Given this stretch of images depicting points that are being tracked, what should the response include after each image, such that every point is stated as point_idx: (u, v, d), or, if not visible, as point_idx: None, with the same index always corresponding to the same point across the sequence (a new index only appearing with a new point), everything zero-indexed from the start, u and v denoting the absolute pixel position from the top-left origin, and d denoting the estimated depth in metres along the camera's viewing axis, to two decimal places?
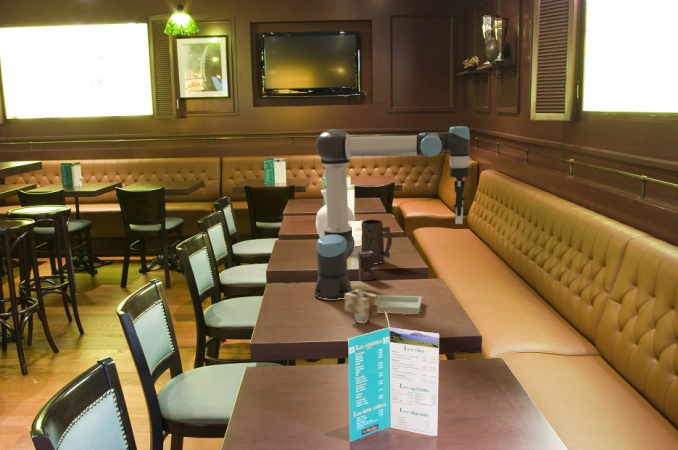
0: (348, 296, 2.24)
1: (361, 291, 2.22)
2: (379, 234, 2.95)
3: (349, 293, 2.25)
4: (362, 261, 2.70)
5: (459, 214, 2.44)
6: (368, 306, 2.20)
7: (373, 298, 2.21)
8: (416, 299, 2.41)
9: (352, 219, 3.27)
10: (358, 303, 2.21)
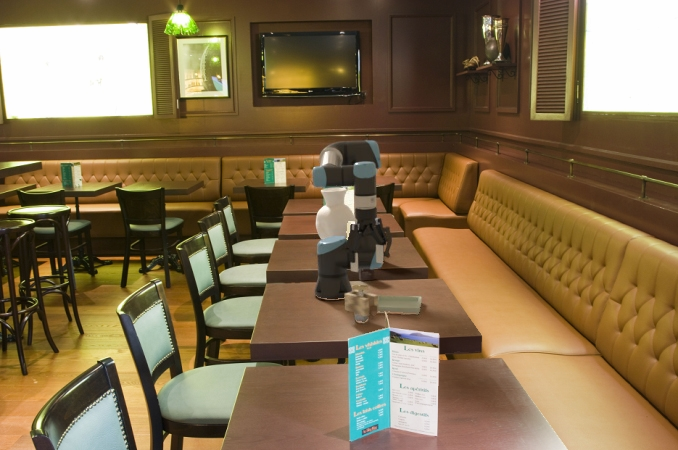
0: (348, 296, 2.24)
1: (361, 291, 2.22)
2: None
3: (349, 293, 2.25)
4: None
5: (351, 261, 2.17)
6: (368, 306, 2.20)
7: (373, 298, 2.21)
8: (416, 299, 2.41)
9: (352, 219, 3.27)
10: (358, 303, 2.21)
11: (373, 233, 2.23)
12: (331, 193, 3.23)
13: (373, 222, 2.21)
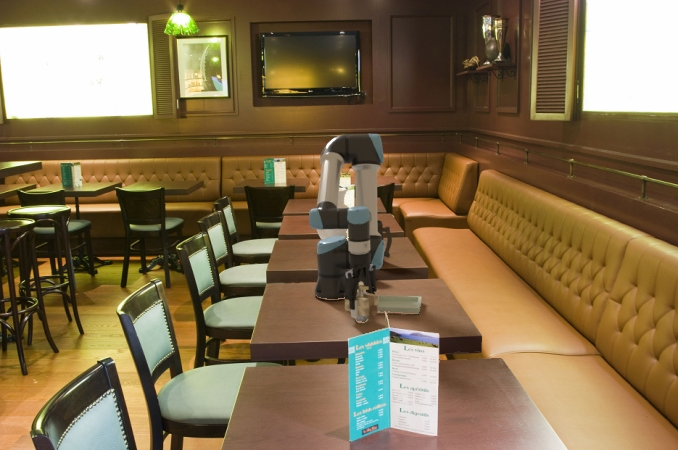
0: None
1: (361, 291, 2.22)
2: None
3: None
4: None
5: (351, 308, 2.21)
6: (368, 306, 2.20)
7: (373, 298, 2.21)
8: (416, 299, 2.41)
9: None
10: (358, 303, 2.21)
11: (365, 279, 2.24)
12: None
13: (367, 266, 2.22)
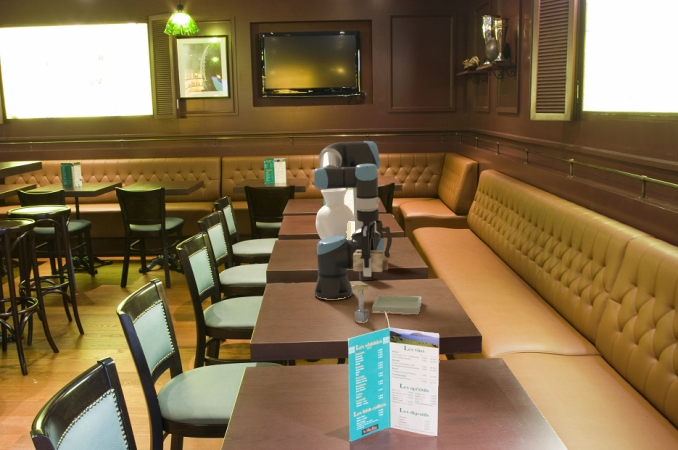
0: (358, 256, 2.22)
1: (361, 291, 2.22)
2: None
3: (356, 253, 2.23)
4: None
5: (366, 266, 2.20)
6: (382, 261, 2.22)
7: (383, 253, 2.24)
8: (416, 299, 2.41)
9: (352, 219, 3.27)
10: (372, 260, 2.21)
11: (370, 236, 2.25)
12: (331, 193, 3.23)
13: (372, 223, 2.24)
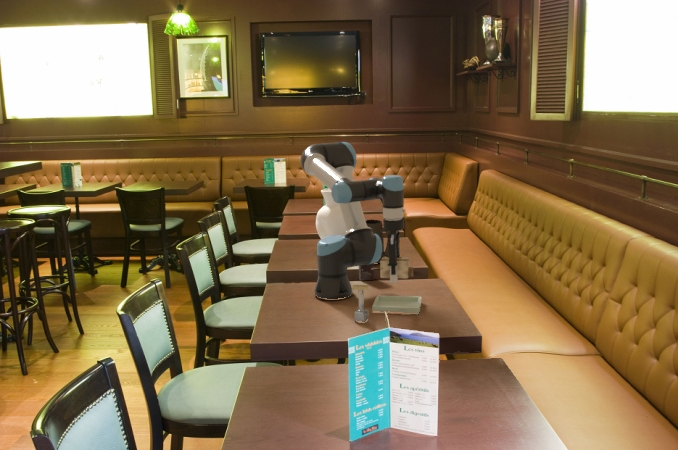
0: (385, 263, 2.32)
1: (361, 291, 2.22)
2: (379, 234, 2.95)
3: (383, 261, 2.33)
4: None
5: (393, 273, 2.30)
6: (408, 268, 2.32)
7: (408, 260, 2.34)
8: (416, 299, 2.41)
9: None
10: (398, 267, 2.31)
11: None
12: (331, 193, 3.23)
13: (397, 232, 2.34)
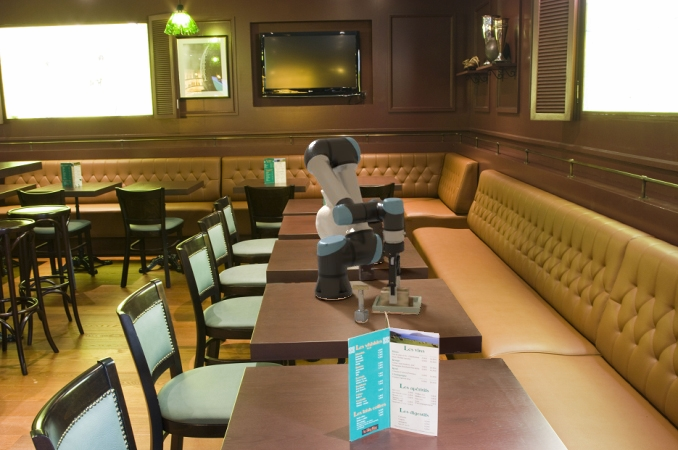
0: (385, 294, 2.34)
1: (361, 291, 2.22)
2: (379, 234, 2.95)
3: (383, 291, 2.36)
4: None
5: (393, 294, 2.29)
6: (408, 299, 2.35)
7: (408, 291, 2.37)
8: (416, 299, 2.41)
9: None
10: (399, 298, 2.34)
11: None
12: None
13: None
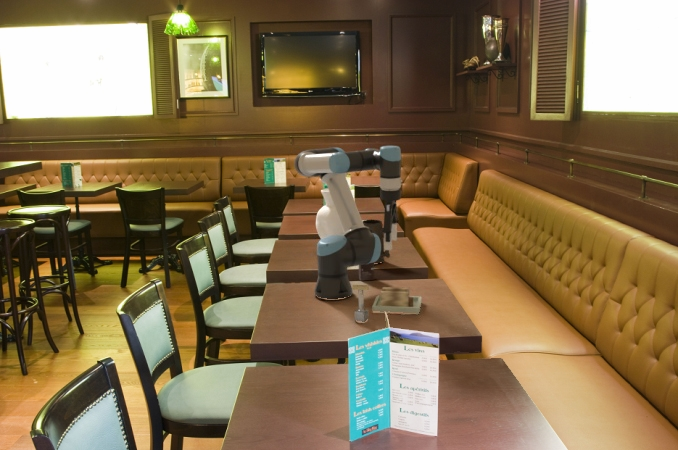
0: (385, 294, 2.34)
1: (361, 291, 2.22)
2: (379, 234, 2.95)
3: (383, 291, 2.36)
4: None
5: (387, 240, 2.29)
6: (408, 299, 2.35)
7: (408, 291, 2.37)
8: (416, 299, 2.41)
9: None
10: (399, 298, 2.34)
11: None
12: None
13: (394, 202, 2.36)
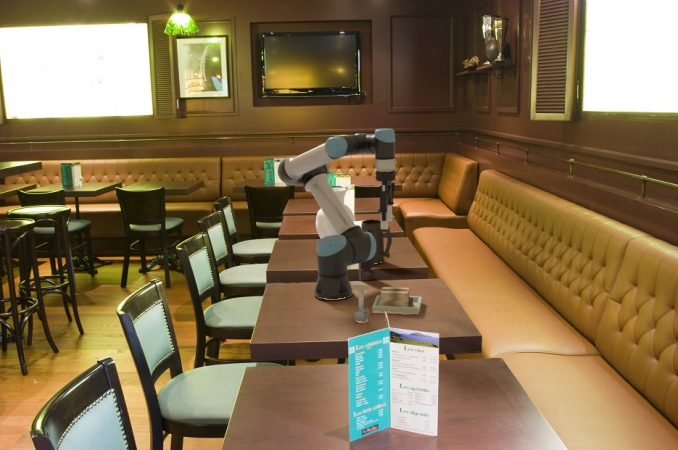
0: (385, 294, 2.34)
1: (361, 291, 2.22)
2: (379, 234, 2.95)
3: (383, 291, 2.36)
4: None
5: (384, 219, 2.36)
6: (408, 299, 2.35)
7: (408, 291, 2.37)
8: (416, 299, 2.41)
9: (352, 219, 3.27)
10: (399, 298, 2.34)
11: None
12: None
13: (389, 183, 2.44)
